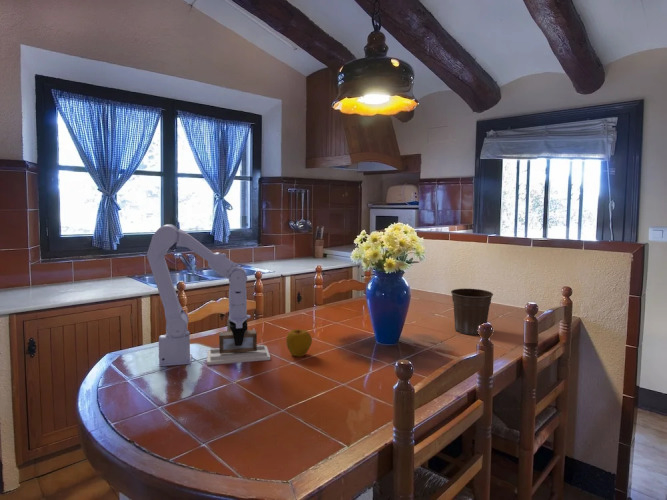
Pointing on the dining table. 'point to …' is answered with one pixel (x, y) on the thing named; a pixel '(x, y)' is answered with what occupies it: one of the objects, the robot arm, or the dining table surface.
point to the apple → (298, 342)
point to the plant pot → (470, 309)
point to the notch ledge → (237, 356)
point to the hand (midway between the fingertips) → (238, 343)
